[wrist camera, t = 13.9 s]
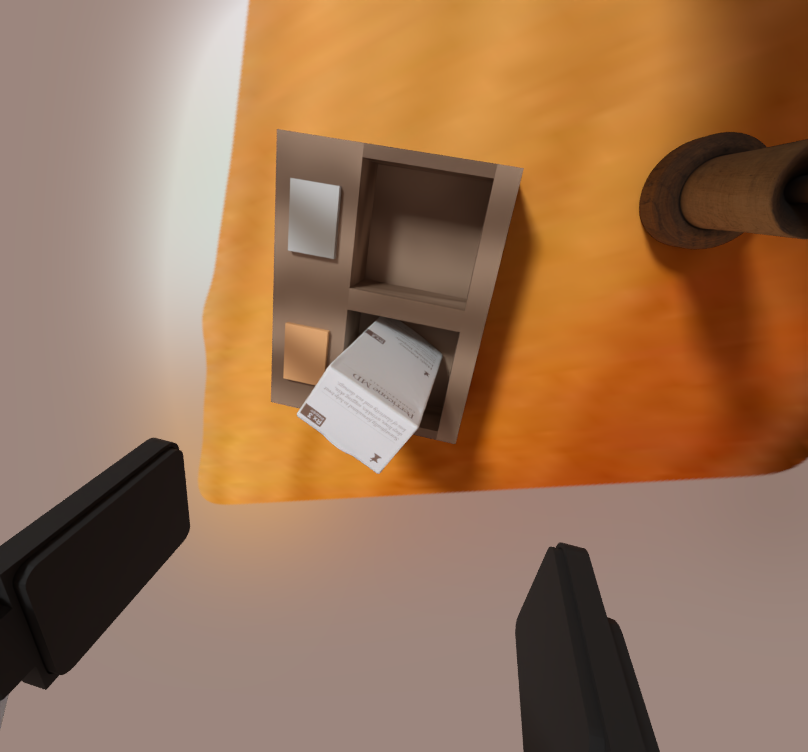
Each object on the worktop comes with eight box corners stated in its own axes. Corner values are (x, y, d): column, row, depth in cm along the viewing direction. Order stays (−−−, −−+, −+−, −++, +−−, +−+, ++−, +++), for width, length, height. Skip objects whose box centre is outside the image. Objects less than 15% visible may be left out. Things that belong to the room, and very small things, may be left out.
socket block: (308, 141, 29) (273, 127, 24) (516, 174, 27) (524, 167, 23) (297, 377, 37) (268, 404, 32) (458, 413, 35) (455, 447, 30)
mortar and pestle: (660, 265, 28) (912, 344, 12) (622, 180, 27) (851, 134, 10) (768, 209, 26) (1267, 210, 9) (733, 112, 24) (1257, -87, 8)
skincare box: (445, 353, 32) (427, 427, 21) (413, 392, 34) (381, 480, 23) (383, 307, 32) (331, 359, 21) (354, 349, 33) (292, 418, 22)
